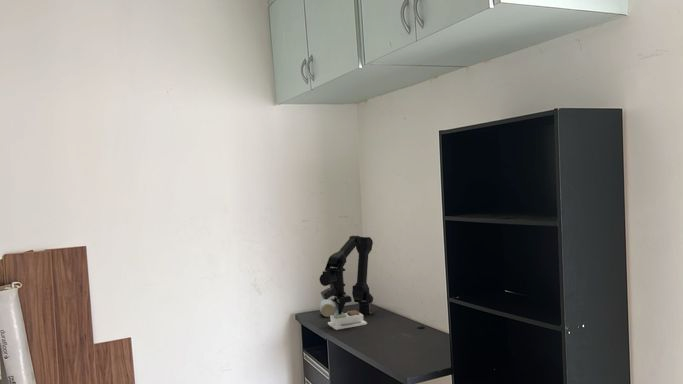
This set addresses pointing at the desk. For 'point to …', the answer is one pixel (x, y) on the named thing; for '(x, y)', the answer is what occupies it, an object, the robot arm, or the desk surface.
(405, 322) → the desk surface
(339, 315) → the sage key
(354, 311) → the walnut key
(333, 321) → the key panel
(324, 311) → the ceramic mug
